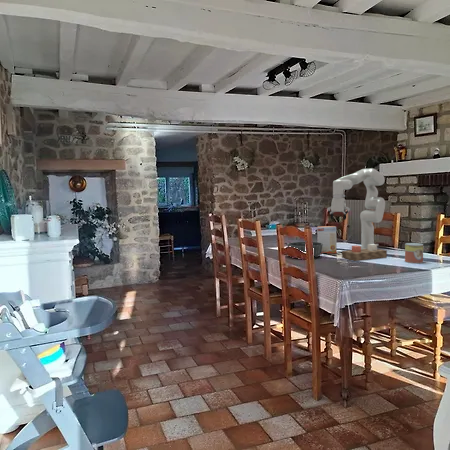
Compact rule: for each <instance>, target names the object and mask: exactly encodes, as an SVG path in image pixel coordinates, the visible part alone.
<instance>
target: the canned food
mask: <svg viewBox="0 0 450 450" xmlns="http://www.w3.org/2000/svg"><path fill="white" fill-rule="evenodd" d="M404 262H405V263H408V264H409V263H410V264H422V263H424V243H419V242H418V243H417V242H406V243H404Z"/></svg>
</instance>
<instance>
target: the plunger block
mask: <svg viewBox="0 0 450 450" xmlns="http://www.w3.org/2000/svg"><path fill="white" fill-rule="evenodd" d="M387 256H388V252H387V250H385V249H380V248H377V250H375V251H370V250H368V249H361V252H352V249H350V250H349V249H348V250H342V251H341V258H342V259H345V260H349V261H353V262H357V261H366V260H367V261H368V260H377V259H385V258H388V257H387Z"/></svg>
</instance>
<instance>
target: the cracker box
mask: <svg viewBox="0 0 450 450" xmlns="http://www.w3.org/2000/svg"><path fill="white" fill-rule="evenodd" d="M316 231H317V232H316V234H317V235H316V237H317V238H316V239H317V241H316V242H319V243H322V244H323V245H322V252H321V254H320V255H323V254H322V253H327V254H337V250H338V249H337V247H338V246H337V226H335V225H331V226H330V225H328V226H325V225H324V226H322V225H321V226H317V227H316Z"/></svg>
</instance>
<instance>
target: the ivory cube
mask: <svg viewBox="0 0 450 450" xmlns="http://www.w3.org/2000/svg"><path fill="white" fill-rule="evenodd" d="M375 244H376V243H375ZM375 244H368V250H370V251H375V250H377V249H378V246H377V245H375Z"/></svg>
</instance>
